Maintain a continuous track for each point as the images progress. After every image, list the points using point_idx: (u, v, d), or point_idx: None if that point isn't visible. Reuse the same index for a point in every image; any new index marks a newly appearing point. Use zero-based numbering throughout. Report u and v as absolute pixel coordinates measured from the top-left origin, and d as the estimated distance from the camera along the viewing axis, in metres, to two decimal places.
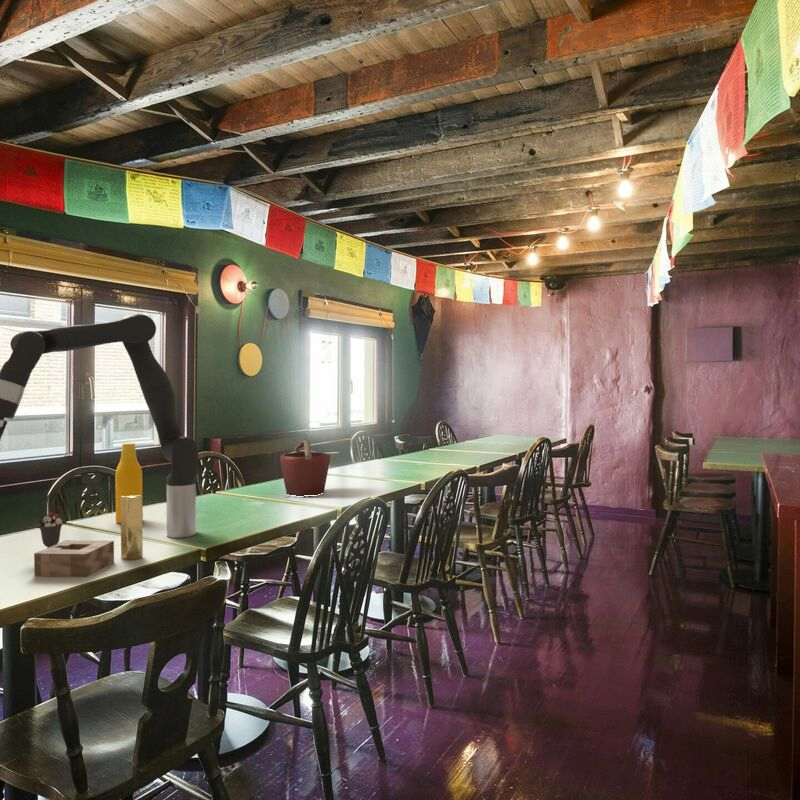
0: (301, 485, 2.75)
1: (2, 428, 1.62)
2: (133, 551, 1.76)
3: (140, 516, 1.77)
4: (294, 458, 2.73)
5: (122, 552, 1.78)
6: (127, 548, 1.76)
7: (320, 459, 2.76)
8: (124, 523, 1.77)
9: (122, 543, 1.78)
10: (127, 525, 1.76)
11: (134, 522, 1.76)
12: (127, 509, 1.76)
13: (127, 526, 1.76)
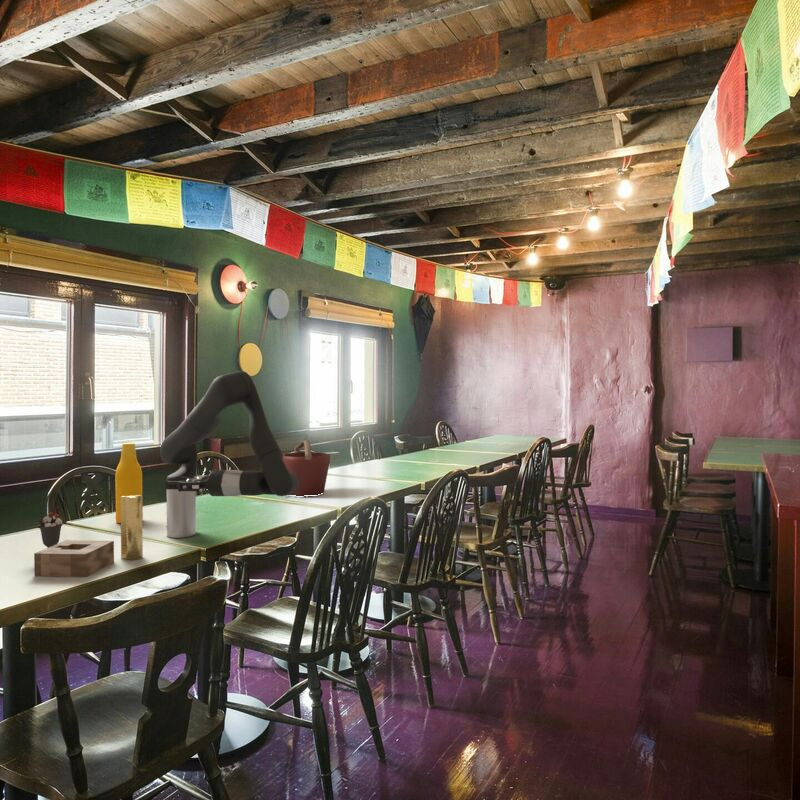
0: (301, 485, 2.75)
1: None
2: (133, 551, 1.76)
3: (140, 516, 1.77)
4: (294, 458, 2.73)
5: (122, 552, 1.78)
6: (127, 548, 1.76)
7: (320, 459, 2.76)
8: (124, 523, 1.77)
9: (122, 543, 1.78)
10: (127, 525, 1.76)
11: (134, 522, 1.76)
12: (127, 509, 1.76)
13: (127, 526, 1.76)
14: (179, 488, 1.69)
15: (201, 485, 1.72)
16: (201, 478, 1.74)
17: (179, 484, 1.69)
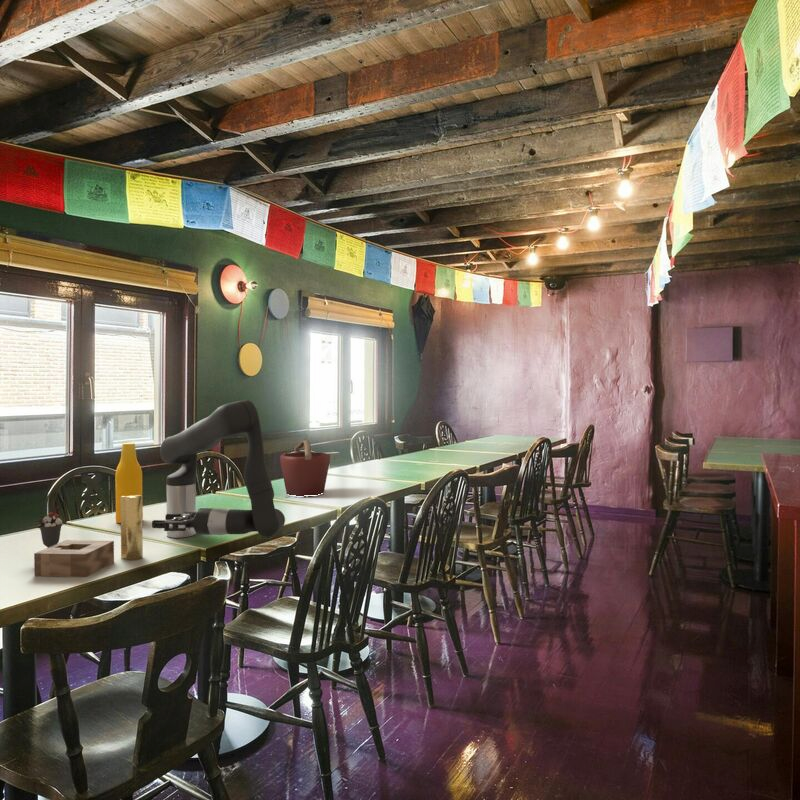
0: (301, 485, 2.75)
1: None
2: (133, 551, 1.76)
3: (140, 516, 1.77)
4: (294, 458, 2.73)
5: (122, 552, 1.78)
6: (127, 548, 1.76)
7: (320, 459, 2.76)
8: (124, 523, 1.77)
9: (122, 543, 1.78)
10: (127, 525, 1.76)
11: (134, 522, 1.76)
12: (127, 509, 1.76)
13: (127, 526, 1.76)
14: (165, 528, 1.70)
15: (187, 524, 1.73)
16: (187, 517, 1.75)
17: (165, 524, 1.70)
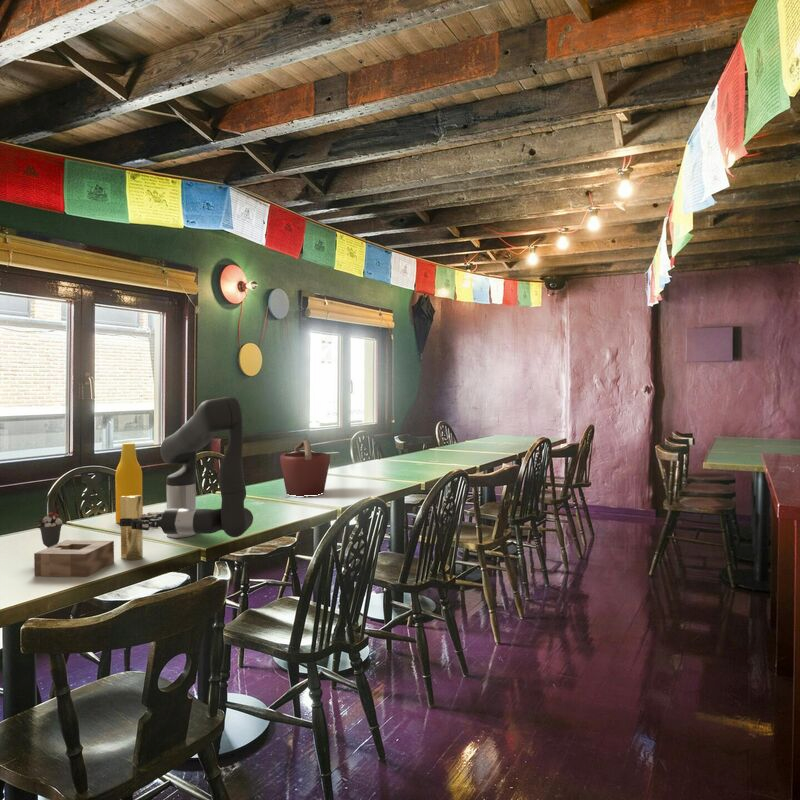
0: (301, 485, 2.75)
1: None
2: (133, 551, 1.76)
3: (140, 516, 1.77)
4: (294, 458, 2.73)
5: (122, 552, 1.78)
6: (127, 548, 1.76)
7: (320, 459, 2.76)
8: None
9: (122, 543, 1.78)
10: None
11: None
12: (127, 509, 1.76)
13: (127, 526, 1.76)
14: (132, 526, 1.73)
15: (153, 524, 1.73)
16: (154, 516, 1.75)
17: (132, 522, 1.72)
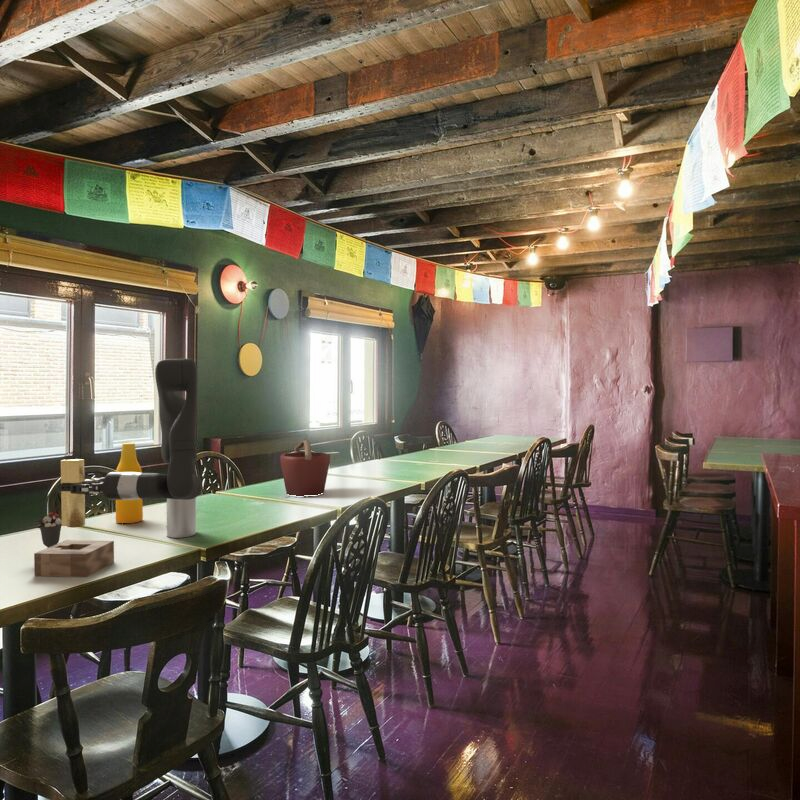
0: (301, 485, 2.75)
1: None
2: (74, 518, 1.65)
3: None
4: (294, 458, 2.73)
5: (63, 520, 1.67)
6: (67, 515, 1.66)
7: (320, 459, 2.76)
8: None
9: (63, 510, 1.67)
10: None
11: None
12: (67, 473, 1.65)
13: (67, 491, 1.65)
14: (72, 490, 1.62)
15: (94, 488, 1.63)
16: (96, 480, 1.65)
17: (72, 486, 1.62)
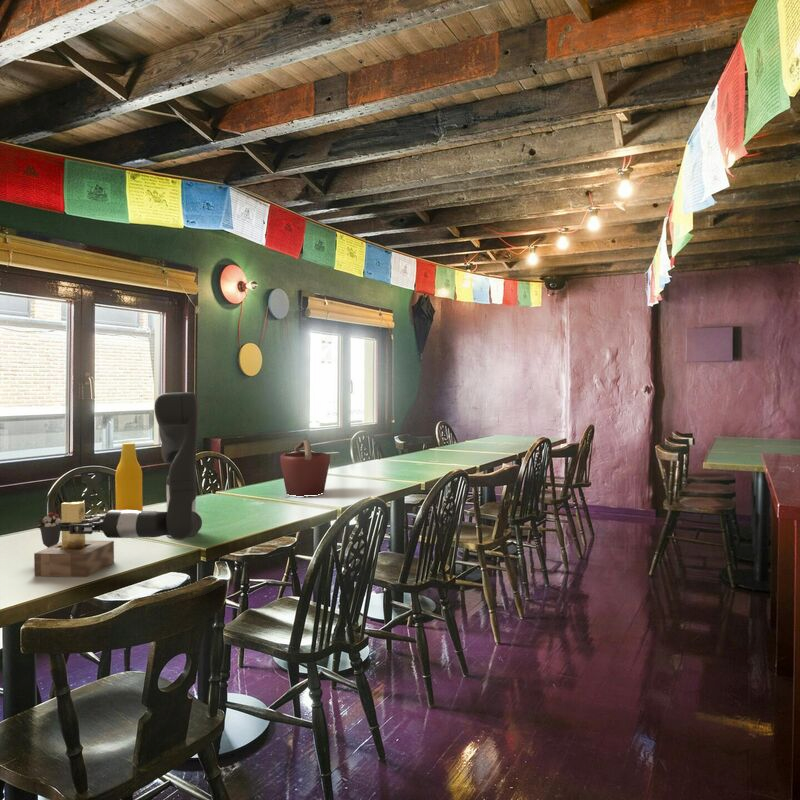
0: (301, 485, 2.75)
1: None
2: None
3: None
4: (294, 458, 2.73)
5: None
6: None
7: (320, 459, 2.76)
8: (66, 531, 1.67)
9: None
10: (68, 534, 1.66)
11: None
12: (68, 517, 1.66)
13: (68, 535, 1.66)
14: (70, 530, 1.60)
15: (95, 527, 1.63)
16: (97, 519, 1.65)
17: (70, 526, 1.60)
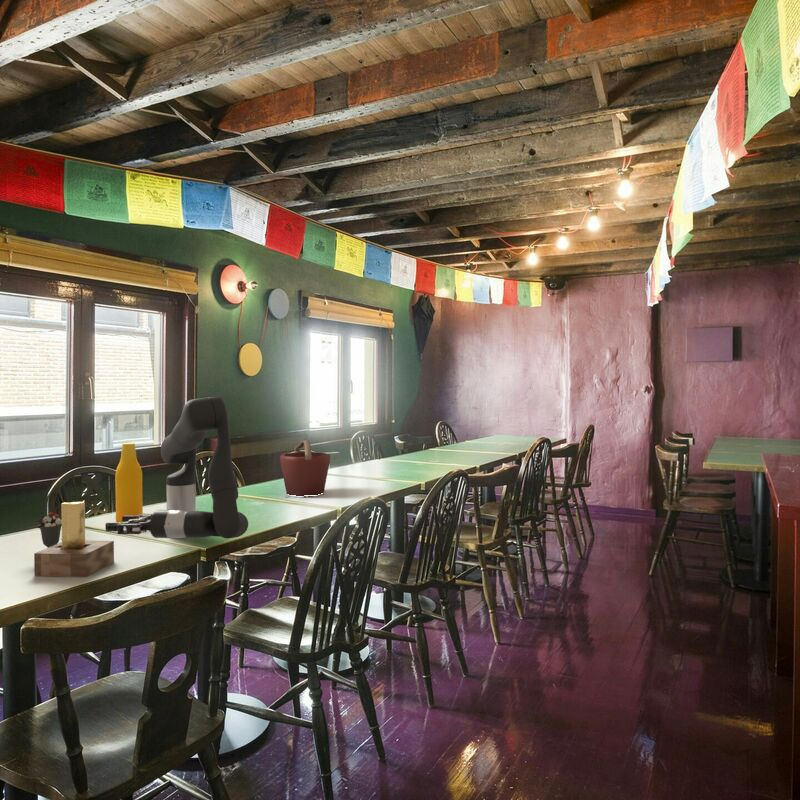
0: (301, 485, 2.75)
1: None
2: None
3: (82, 524, 1.67)
4: (294, 458, 2.73)
5: None
6: None
7: (320, 459, 2.76)
8: (66, 531, 1.67)
9: None
10: (68, 534, 1.66)
11: (75, 530, 1.66)
12: (68, 517, 1.66)
13: (68, 535, 1.66)
14: (119, 531, 1.60)
15: (143, 527, 1.62)
16: (144, 519, 1.64)
17: (119, 526, 1.60)
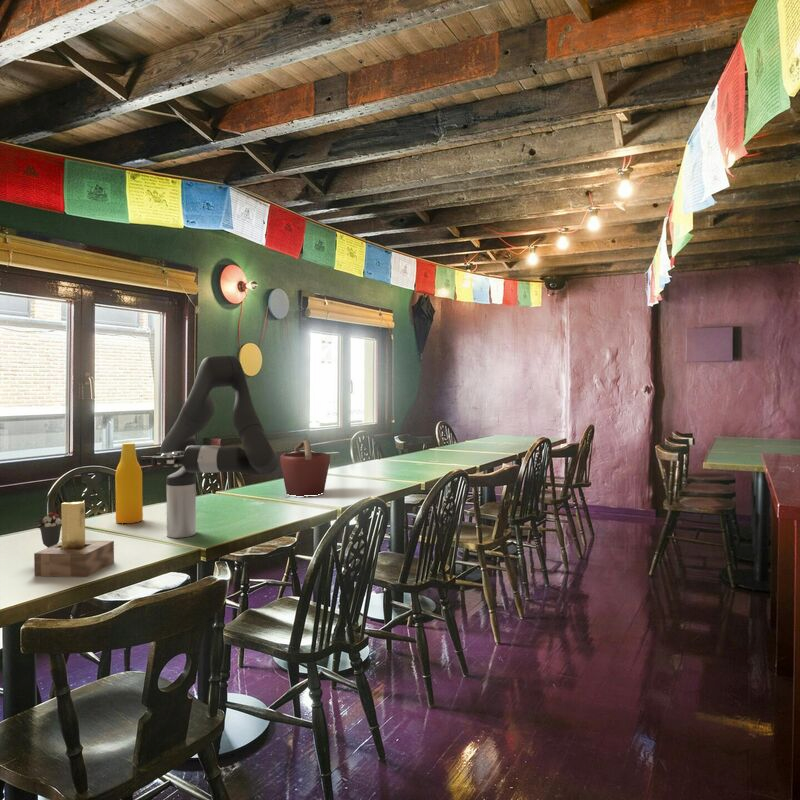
0: (301, 485, 2.75)
1: None
2: None
3: (82, 524, 1.67)
4: (294, 458, 2.73)
5: None
6: None
7: (320, 459, 2.76)
8: (66, 531, 1.67)
9: None
10: (68, 534, 1.66)
11: (75, 530, 1.66)
12: (68, 517, 1.66)
13: (68, 535, 1.66)
14: (153, 463, 1.62)
15: (176, 460, 1.64)
16: (177, 453, 1.67)
17: (153, 459, 1.62)
